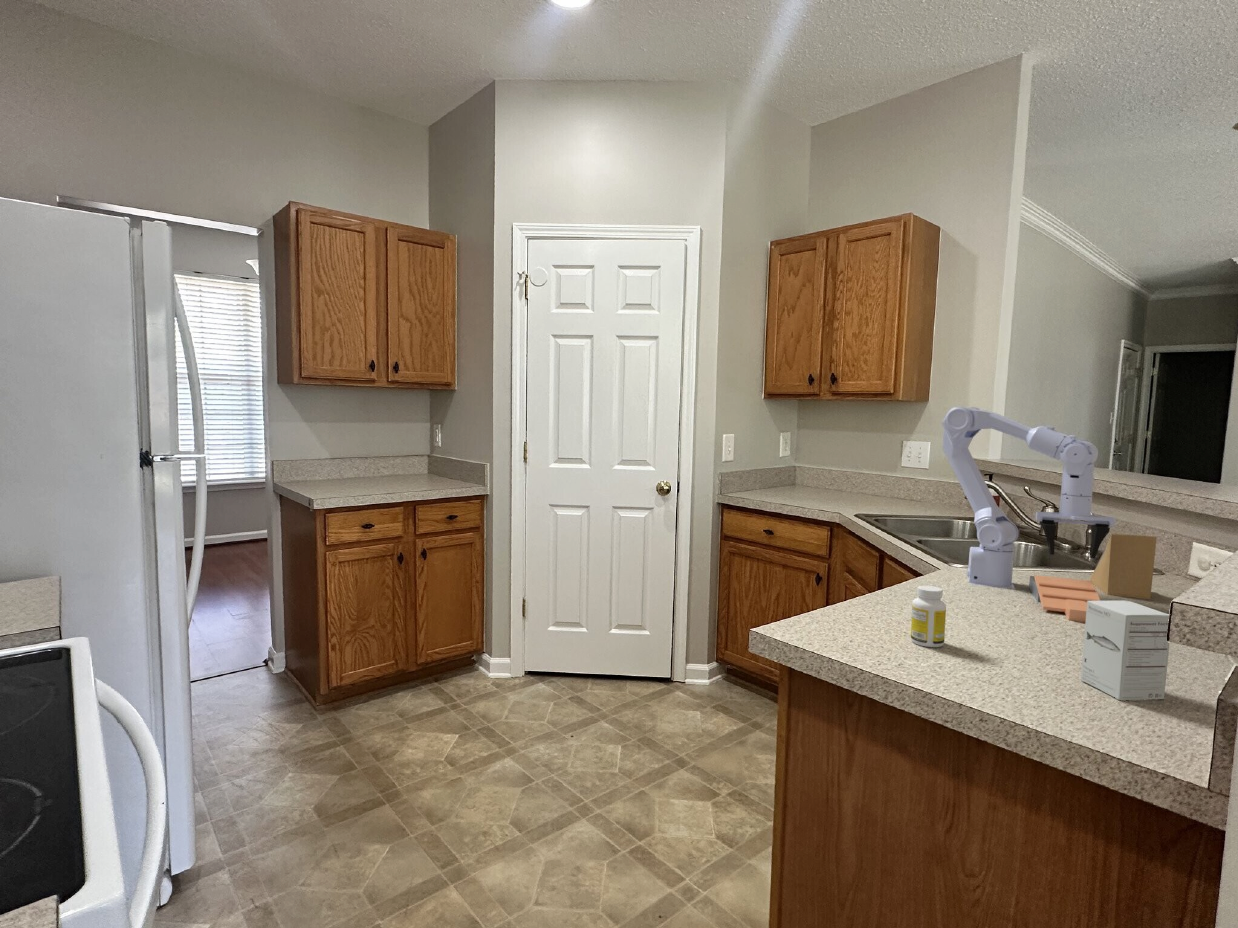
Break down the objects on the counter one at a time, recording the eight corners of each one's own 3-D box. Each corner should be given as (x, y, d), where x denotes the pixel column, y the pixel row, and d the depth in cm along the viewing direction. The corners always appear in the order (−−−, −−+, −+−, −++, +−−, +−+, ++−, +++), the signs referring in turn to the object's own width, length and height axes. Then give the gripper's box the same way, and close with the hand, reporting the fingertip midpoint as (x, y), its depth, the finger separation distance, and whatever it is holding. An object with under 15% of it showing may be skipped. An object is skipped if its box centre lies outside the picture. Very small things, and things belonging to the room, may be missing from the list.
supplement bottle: (941, 640, 119) (945, 586, 118) (946, 650, 113) (949, 593, 113) (908, 636, 120) (912, 582, 120) (911, 645, 115) (914, 590, 114)
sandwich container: (1128, 586, 163) (1133, 526, 162) (1152, 602, 148) (1157, 536, 147) (1086, 582, 166) (1091, 523, 165) (1106, 597, 152) (1111, 532, 150)
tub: (1037, 604, 144) (1038, 588, 143) (1028, 590, 156) (1029, 575, 155) (1093, 611, 140) (1094, 594, 139) (1079, 596, 151) (1081, 581, 151)
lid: (1045, 619, 133) (1047, 606, 132) (1034, 577, 148) (1035, 565, 147) (1110, 627, 128) (1112, 614, 127) (1091, 583, 143) (1093, 571, 142)
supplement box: (1078, 680, 101) (1084, 599, 100) (1123, 680, 102) (1130, 599, 101) (1118, 701, 94) (1125, 614, 93) (1166, 700, 95) (1174, 614, 94)
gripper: (1040, 494, 146) (1036, 555, 147) (1121, 499, 140) (1116, 562, 141) (1035, 491, 153) (1031, 549, 154) (1112, 496, 147) (1107, 556, 148)
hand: (1071, 555), depth 148 cm, fingers open, 7 cm apart
